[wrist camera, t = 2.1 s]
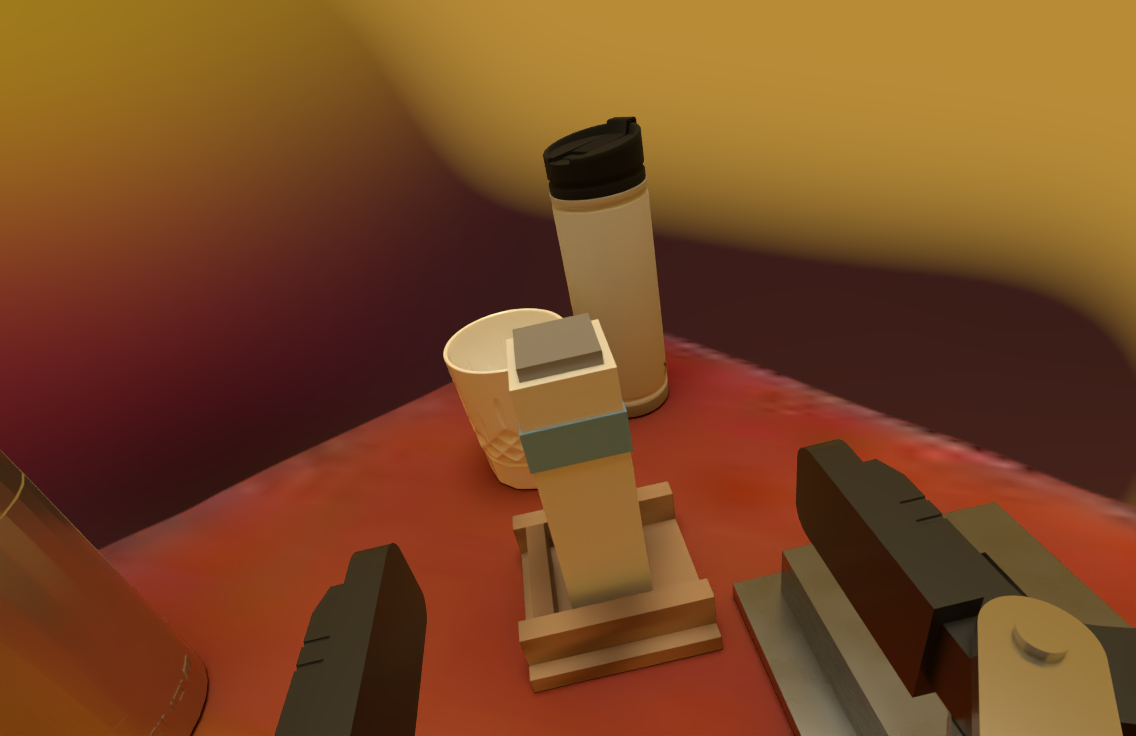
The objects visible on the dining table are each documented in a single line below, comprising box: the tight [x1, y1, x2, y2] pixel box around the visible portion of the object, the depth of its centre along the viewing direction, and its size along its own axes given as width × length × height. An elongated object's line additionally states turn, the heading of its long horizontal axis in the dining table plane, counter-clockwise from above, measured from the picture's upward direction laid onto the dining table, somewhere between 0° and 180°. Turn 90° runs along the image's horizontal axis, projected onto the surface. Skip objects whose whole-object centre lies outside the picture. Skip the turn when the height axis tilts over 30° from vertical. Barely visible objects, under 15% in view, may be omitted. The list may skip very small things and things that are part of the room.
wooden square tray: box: [513, 481, 722, 692], centre depth 29 cm, size 9×9×3 cm
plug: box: [506, 313, 653, 609], centre depth 25 cm, size 4×4×15 cm
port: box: [733, 502, 1132, 736], centre depth 22 cm, size 14×12×4 cm
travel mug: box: [543, 117, 669, 418], centre depth 39 cm, size 6×7×20 cm
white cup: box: [443, 308, 562, 489], centre depth 37 cm, size 8×8×10 cm
